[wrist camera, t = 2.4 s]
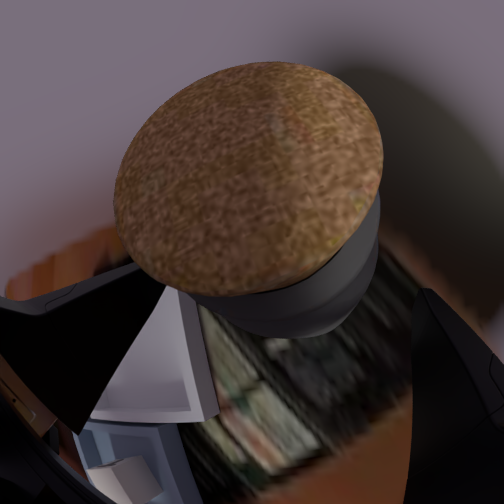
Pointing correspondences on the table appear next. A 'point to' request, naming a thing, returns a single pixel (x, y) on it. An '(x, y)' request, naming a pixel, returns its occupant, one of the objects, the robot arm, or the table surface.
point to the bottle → (257, 197)
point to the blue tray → (141, 443)
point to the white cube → (126, 480)
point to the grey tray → (163, 370)
